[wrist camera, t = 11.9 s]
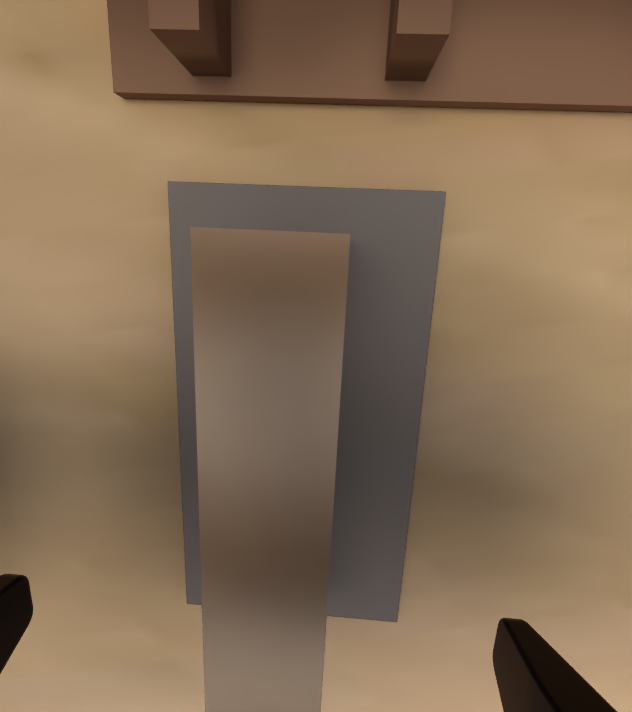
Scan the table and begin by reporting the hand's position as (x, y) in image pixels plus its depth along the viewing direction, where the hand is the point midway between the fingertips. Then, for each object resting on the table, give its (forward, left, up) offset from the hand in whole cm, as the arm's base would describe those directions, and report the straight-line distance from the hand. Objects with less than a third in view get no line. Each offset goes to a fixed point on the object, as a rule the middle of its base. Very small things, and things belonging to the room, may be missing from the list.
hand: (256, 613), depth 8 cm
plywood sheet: (0, 0, -8) cm, 8 cm away
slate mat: (0, 0, -9) cm, 9 cm away
